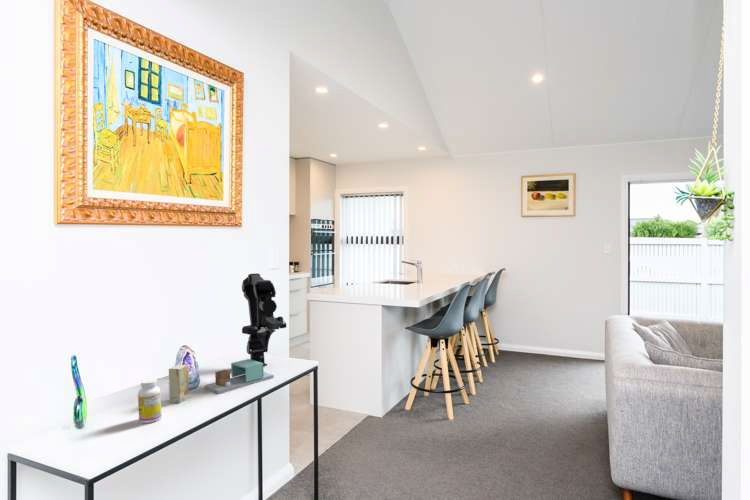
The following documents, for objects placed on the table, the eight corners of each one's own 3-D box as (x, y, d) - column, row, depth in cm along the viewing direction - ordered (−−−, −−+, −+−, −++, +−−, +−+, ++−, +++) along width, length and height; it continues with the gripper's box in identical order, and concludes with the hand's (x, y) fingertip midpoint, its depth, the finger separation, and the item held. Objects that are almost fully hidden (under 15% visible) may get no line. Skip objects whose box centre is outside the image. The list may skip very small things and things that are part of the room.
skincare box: (180, 403, 168) (178, 369, 168) (169, 402, 169) (167, 369, 168) (190, 397, 175) (188, 364, 174) (179, 396, 175) (178, 364, 175)
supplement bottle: (140, 418, 155) (138, 379, 155) (162, 414, 157) (160, 376, 157) (137, 425, 149) (136, 385, 148) (160, 422, 151) (159, 382, 151)
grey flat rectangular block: (204, 388, 184) (204, 381, 184) (259, 373, 203) (258, 367, 203) (218, 393, 177) (218, 386, 177) (273, 377, 196) (273, 371, 196)
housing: (231, 377, 193) (231, 362, 193) (248, 372, 199) (248, 358, 199) (246, 382, 186) (246, 367, 186) (263, 377, 192) (263, 363, 192)
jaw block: (215, 384, 184) (215, 371, 184) (224, 382, 187) (224, 369, 187) (221, 386, 182) (220, 373, 182) (230, 384, 185) (229, 371, 185)
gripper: (256, 315, 186) (257, 354, 187) (293, 309, 200) (294, 345, 201) (240, 312, 194) (241, 350, 194) (277, 307, 208) (279, 342, 208)
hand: (265, 347), depth 199 cm, fingers closed
